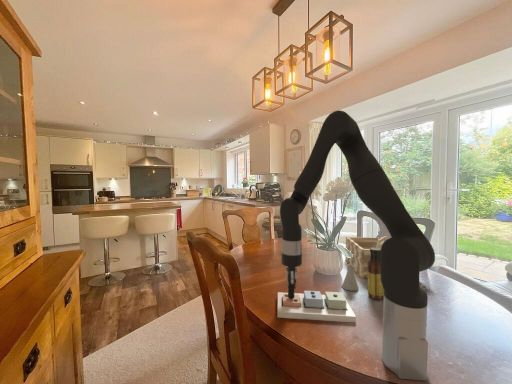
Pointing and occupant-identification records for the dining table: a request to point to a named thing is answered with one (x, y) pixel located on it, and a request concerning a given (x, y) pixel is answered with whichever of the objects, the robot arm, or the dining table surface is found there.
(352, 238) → the woven basket
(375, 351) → the dining table surface
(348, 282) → the flask
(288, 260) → the robot arm
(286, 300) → the tile three
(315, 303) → the tile two
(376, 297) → the sauce bottle
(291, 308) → the board
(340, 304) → the tile one
